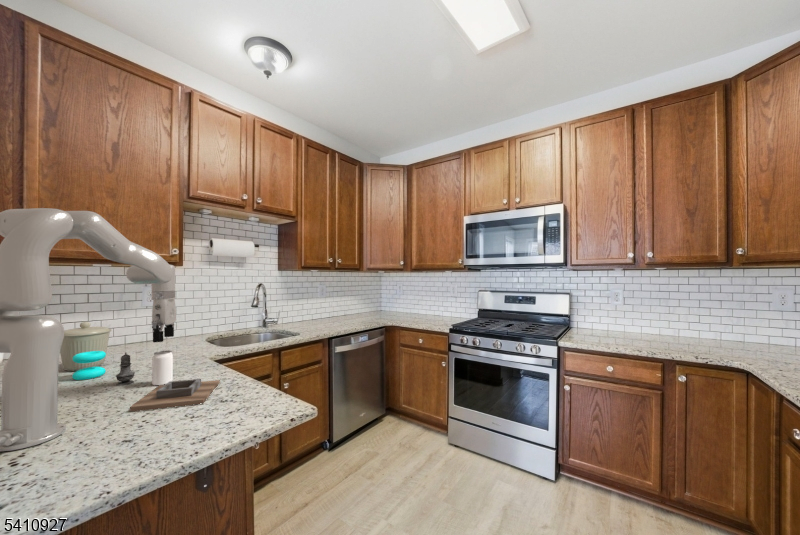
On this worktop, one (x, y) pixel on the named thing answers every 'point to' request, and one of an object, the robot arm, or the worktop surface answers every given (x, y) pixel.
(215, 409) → the worktop surface
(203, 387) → the socket board
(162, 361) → the can
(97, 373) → the donuts
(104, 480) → the worktop surface
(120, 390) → the worktop surface
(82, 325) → the canister
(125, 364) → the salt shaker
